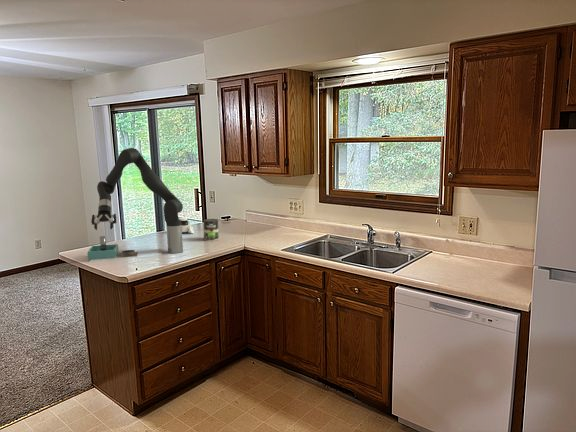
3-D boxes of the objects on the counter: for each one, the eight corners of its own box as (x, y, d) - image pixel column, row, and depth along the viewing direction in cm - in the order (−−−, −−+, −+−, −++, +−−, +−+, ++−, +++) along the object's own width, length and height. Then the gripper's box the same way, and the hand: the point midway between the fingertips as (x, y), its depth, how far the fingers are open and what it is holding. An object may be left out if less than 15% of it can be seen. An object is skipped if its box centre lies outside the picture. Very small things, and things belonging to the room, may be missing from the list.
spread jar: (177, 232, 330) (176, 217, 328) (192, 231, 334) (191, 216, 332) (179, 235, 319) (178, 220, 317) (195, 234, 323) (194, 218, 321)
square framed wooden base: (138, 253, 268) (138, 248, 268) (136, 258, 258) (136, 253, 257) (119, 255, 266) (119, 250, 265) (117, 259, 255) (117, 254, 255)
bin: (118, 253, 269) (118, 244, 268) (115, 259, 255) (114, 250, 254) (93, 255, 266) (92, 245, 264) (88, 261, 251) (87, 251, 250)
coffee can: (219, 240, 301) (218, 220, 299) (204, 241, 299) (203, 221, 297) (218, 237, 311) (217, 218, 309) (204, 238, 309) (203, 219, 307)
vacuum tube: (108, 254, 263) (107, 235, 261) (107, 256, 258) (105, 237, 256) (100, 255, 262) (99, 236, 260) (99, 257, 257) (97, 237, 255)
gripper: (91, 204, 268) (89, 226, 259) (115, 203, 272) (115, 224, 263) (93, 211, 274) (92, 233, 265) (117, 210, 278) (116, 231, 269)
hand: (103, 229), depth 264 cm, fingers open, 8 cm apart
